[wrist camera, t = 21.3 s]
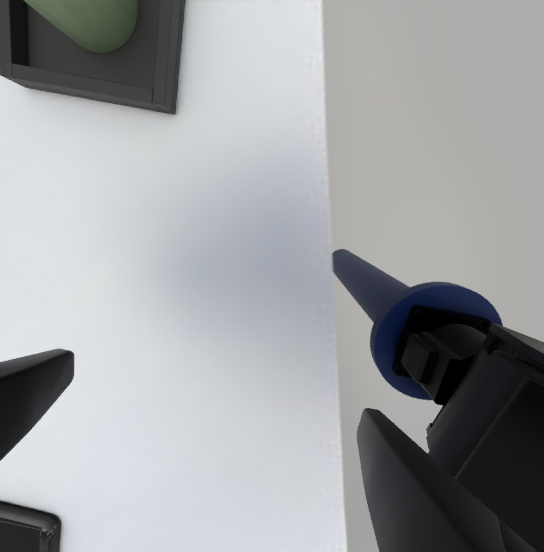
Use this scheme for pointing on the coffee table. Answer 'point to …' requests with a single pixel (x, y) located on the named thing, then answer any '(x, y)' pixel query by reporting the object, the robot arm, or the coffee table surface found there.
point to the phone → (27, 530)
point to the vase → (91, 21)
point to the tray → (96, 57)
